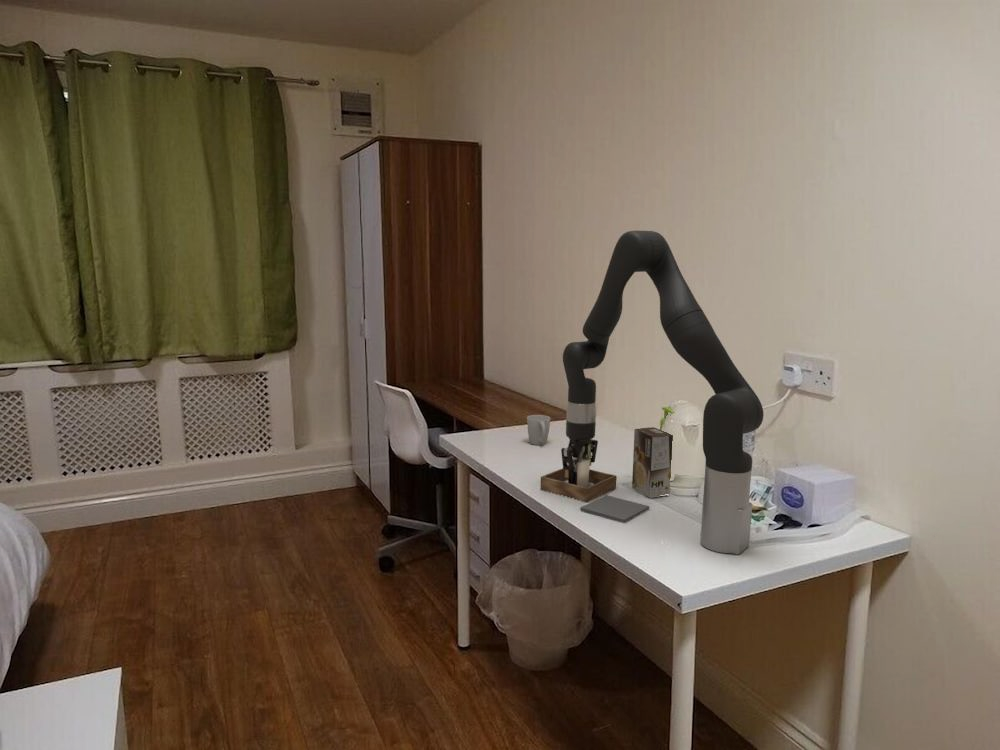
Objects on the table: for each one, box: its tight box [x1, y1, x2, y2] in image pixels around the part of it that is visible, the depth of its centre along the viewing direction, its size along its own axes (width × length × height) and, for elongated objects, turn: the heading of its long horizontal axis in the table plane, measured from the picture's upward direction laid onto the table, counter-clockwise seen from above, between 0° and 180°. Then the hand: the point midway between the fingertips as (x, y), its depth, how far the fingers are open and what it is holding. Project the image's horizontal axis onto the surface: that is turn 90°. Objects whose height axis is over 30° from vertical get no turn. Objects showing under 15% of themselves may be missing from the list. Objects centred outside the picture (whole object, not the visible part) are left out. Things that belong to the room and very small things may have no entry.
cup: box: [526, 414, 551, 446], centre depth 229 cm, size 8×10×8 cm
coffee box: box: [631, 426, 673, 499], centre depth 184 cm, size 9×6×16 cm
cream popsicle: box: [565, 456, 590, 488], centre depth 186 cm, size 7×5×8 cm
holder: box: [539, 467, 617, 503], centre depth 186 cm, size 14×14×4 cm
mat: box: [579, 494, 650, 524], centre depth 171 cm, size 12×12×1 cm
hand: (578, 482), depth 186 cm, fingers closed on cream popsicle, 5 cm apart
